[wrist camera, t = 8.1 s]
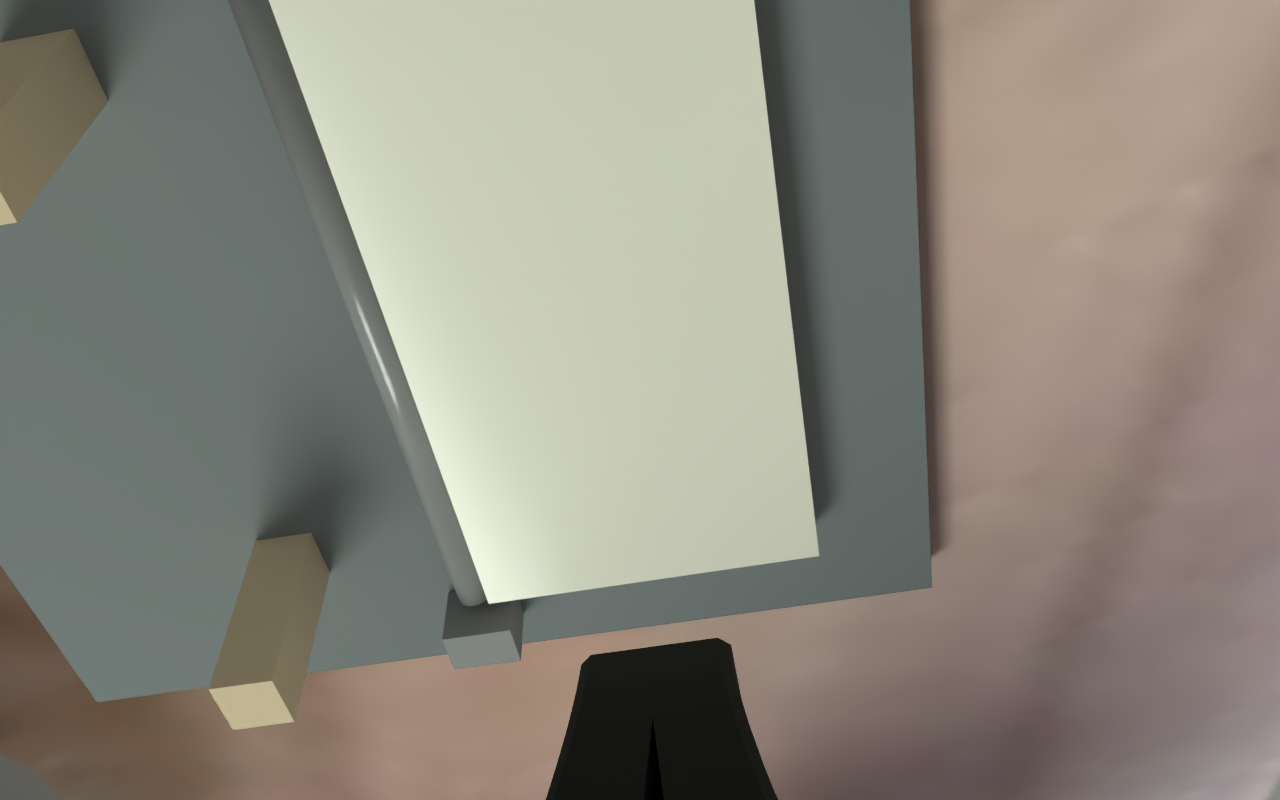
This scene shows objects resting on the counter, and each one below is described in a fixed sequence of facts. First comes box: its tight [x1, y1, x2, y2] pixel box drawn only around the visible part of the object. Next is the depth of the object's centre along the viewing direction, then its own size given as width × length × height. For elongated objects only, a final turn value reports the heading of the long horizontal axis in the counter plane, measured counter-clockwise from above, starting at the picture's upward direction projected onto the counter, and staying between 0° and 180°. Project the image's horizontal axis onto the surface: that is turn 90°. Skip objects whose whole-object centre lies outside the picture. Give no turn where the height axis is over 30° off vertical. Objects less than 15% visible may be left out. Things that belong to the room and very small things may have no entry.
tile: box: [228, 0, 819, 606], centre depth 18 cm, size 11×6×1 cm, turn 10°
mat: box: [0, 0, 932, 730], centre depth 17 cm, size 15×16×4 cm
